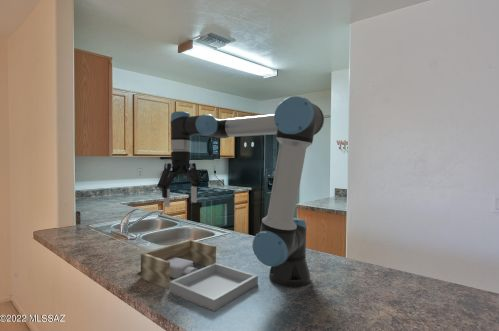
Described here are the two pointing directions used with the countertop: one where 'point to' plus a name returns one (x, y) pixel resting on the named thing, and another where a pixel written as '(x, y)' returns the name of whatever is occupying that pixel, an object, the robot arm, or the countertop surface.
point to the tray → (213, 285)
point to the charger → (180, 267)
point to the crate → (159, 268)
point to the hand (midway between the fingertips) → (180, 204)
